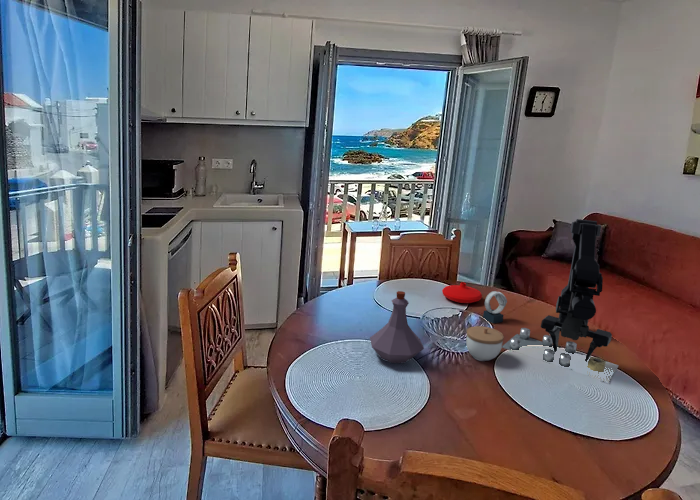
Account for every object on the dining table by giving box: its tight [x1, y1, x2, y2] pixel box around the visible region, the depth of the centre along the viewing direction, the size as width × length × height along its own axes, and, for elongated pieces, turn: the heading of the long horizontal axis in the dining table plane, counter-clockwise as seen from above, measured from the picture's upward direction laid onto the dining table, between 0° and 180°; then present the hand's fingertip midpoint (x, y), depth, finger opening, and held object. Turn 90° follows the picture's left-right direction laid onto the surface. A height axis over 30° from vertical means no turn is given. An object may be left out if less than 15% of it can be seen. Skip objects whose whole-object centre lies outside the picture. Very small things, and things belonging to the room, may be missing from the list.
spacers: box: [509, 327, 578, 367], centre depth 152 cm, size 14×18×3 cm
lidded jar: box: [465, 325, 505, 362], centre depth 146 cm, size 11×11×9 cm
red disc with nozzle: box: [441, 281, 483, 304], centre depth 195 cm, size 16×16×7 cm
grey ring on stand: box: [482, 290, 508, 324], centre depth 174 cm, size 6×8×11 cm
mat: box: [501, 333, 619, 383], centre depth 150 cm, size 14×31×1 cm, turn 52°
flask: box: [369, 290, 425, 364], centre depth 142 cm, size 16×16×20 cm
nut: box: [587, 356, 607, 372], centre depth 143 cm, size 5×4×3 cm
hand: (570, 356), depth 148 cm, fingers open, 9 cm apart
